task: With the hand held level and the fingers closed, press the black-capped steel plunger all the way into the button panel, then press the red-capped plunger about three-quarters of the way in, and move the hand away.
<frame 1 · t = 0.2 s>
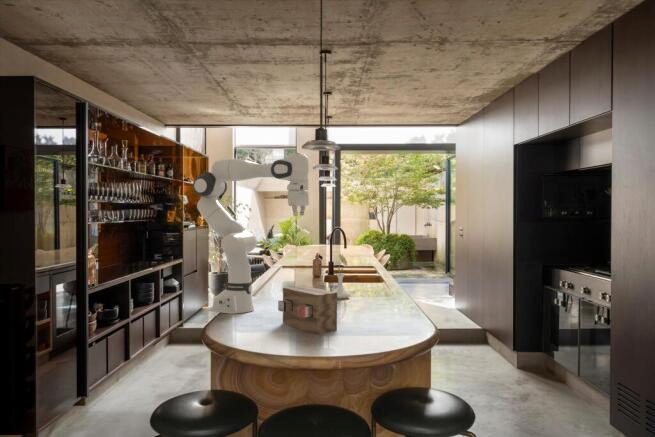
hand: (298, 215, 243), 48 cm above the counter, tool pointing down, fingers open, 8 cm apart
plunger right: (308, 310, 210), point 9 cm above the counter, slide at 0.0 cm
plunger left: (288, 305, 221), point 9 cm above the counter, slide at 0.0 cm
flower in vase: (340, 298, 290), on the counter
button panel: (308, 326, 219), on the counter
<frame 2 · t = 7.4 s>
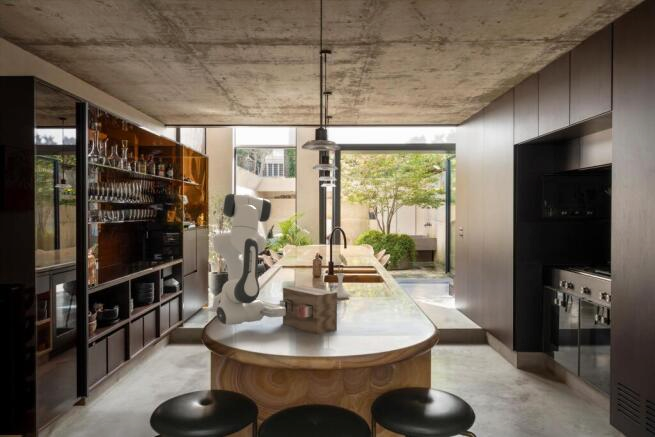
hand: (282, 306, 219), 9 cm above the counter, tool horizontal, fingers closed, pressing on plunger left
plunger left: (289, 305, 221), point 9 cm above the counter, slide at 0.8 cm, touching gripper
everything else where it was.
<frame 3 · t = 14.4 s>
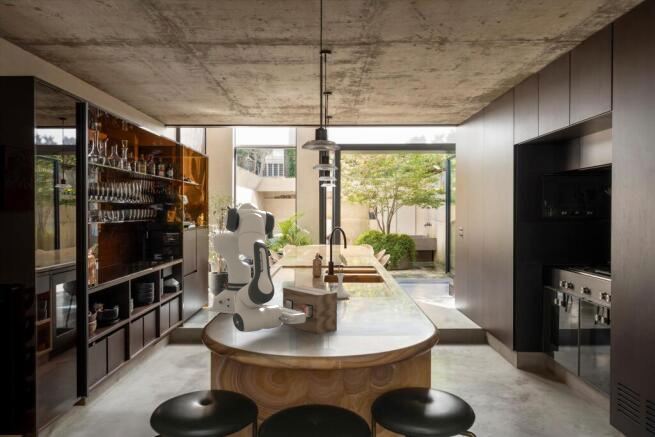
hand: (300, 312, 208), 9 cm above the counter, tool horizontal, fingers closed, pressing on plunger right
plunger right: (308, 310, 210), point 9 cm above the counter, slide at 0.3 cm, touching gripper
plunger left: (296, 304, 223), point 9 cm above the counter, slide at 4.1 cm
everything else where it was.
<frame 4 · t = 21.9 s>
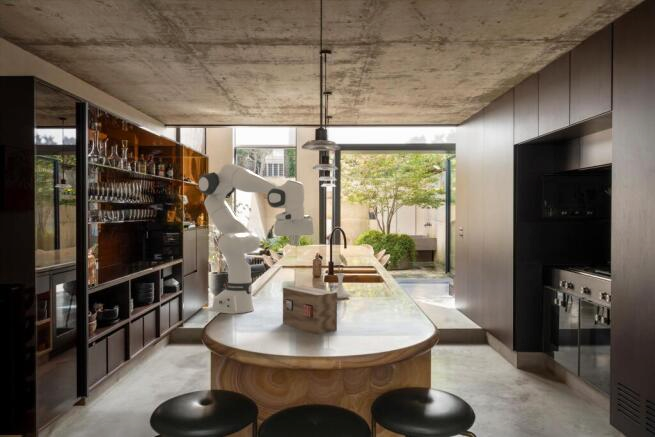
hand: (294, 245, 234), 34 cm above the counter, tool pointing down, fingers closed
plunger right: (314, 309, 212), point 9 cm above the counter, slide at 3.3 cm
everything else where it was.
at the end: plunger left slide at 4.1 cm; plunger right slide at 3.3 cm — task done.
